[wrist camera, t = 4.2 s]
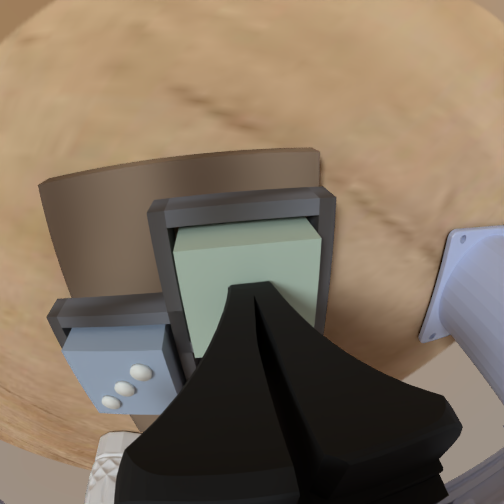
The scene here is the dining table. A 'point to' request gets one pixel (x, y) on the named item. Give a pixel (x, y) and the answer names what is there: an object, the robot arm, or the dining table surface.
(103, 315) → the board
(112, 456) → the white cup
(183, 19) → the dining table surface
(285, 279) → the tile one
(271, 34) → the dining table surface
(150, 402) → the tile three
